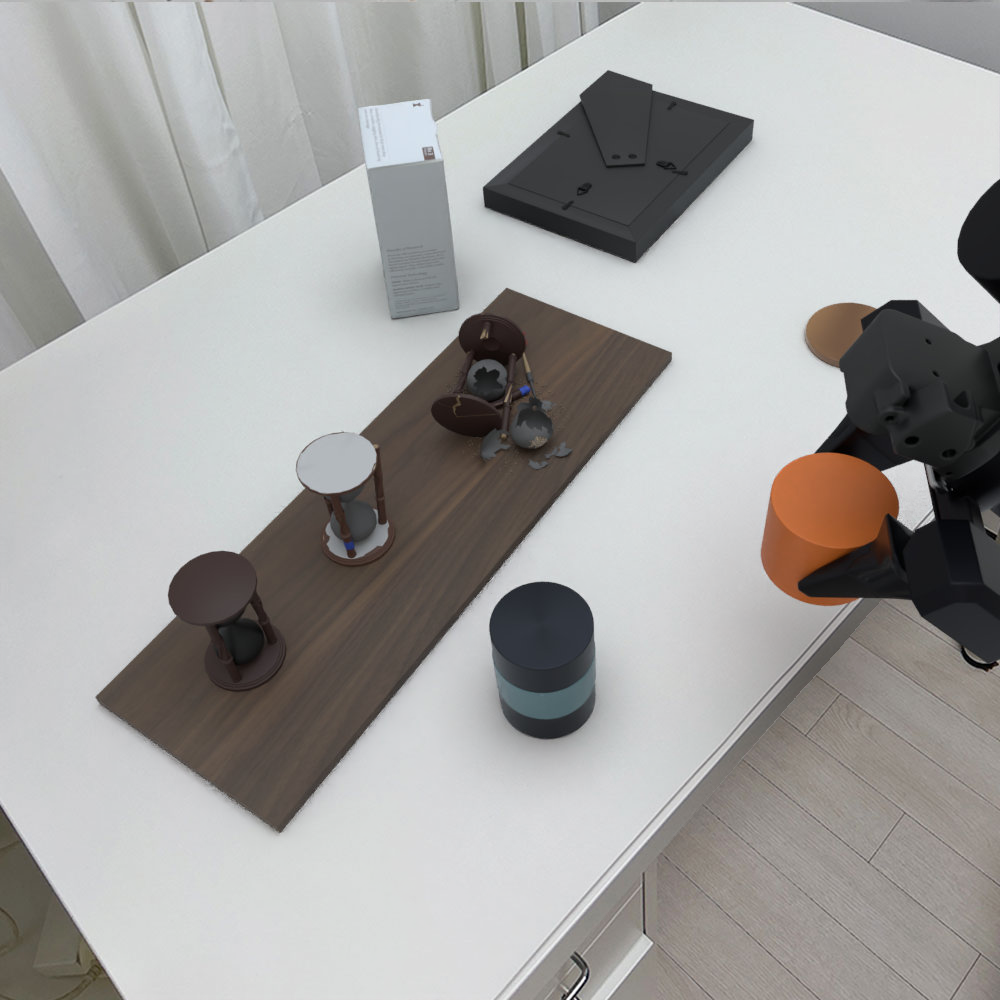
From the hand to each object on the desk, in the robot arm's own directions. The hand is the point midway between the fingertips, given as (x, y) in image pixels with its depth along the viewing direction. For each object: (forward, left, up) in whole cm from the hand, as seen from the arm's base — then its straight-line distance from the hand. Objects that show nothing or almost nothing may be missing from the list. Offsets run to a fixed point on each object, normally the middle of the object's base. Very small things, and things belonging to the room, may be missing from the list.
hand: (797, 539), depth 58 cm
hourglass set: (+23, -12, -13) cm, 29 cm away
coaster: (-9, -29, -13) cm, 33 cm away
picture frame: (+8, -52, -13) cm, 54 cm away
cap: (-1, 0, -2) cm, 2 cm away
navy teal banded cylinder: (+14, +2, -13) cm, 19 cm away
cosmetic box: (+25, -37, -13) cm, 46 cm away
